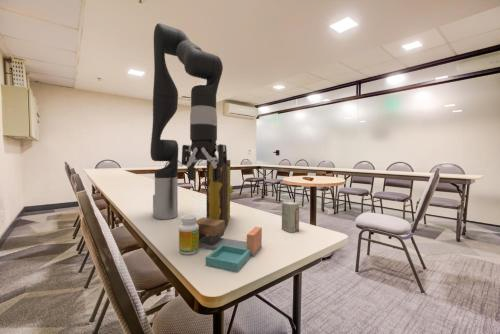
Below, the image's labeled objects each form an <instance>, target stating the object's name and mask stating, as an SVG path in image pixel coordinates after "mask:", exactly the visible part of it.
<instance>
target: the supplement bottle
mask: <svg viewBox="0 0 500 334" xmlns="http://www.w3.org/2000/svg"><path fill="white" fill-rule="evenodd" d="M196 220H197V215H193V214H188V215H187V214H186V215H183V216H181V224H180V225H179V226H178V252H179V253H180V254H181V255H187V256H188V255H193V254H196V253H197V252H199V250H200V247H199V225H198V224H197V223H196Z"/></svg>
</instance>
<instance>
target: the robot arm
mask: <svg viewBox="0 0 500 334" xmlns="http://www.w3.org/2000/svg"><path fill="white" fill-rule="evenodd" d="M165 55H170V56H174V57H176V58H178V59H177V60H178V61H179V62H180V63H182V65H183V66H184V71H185V73H186V74H188V75H189V76H191V77H194V78H197V79H198V78H199V79H202V80H206V84H198V85H194V86H192V88H191V90H190V91H191V92H190V115H189V139H190V141H191V144H183V145H182V147H181V149H182V150H181V165H182V166H186V168H187V178H188V181H194V180H195V179H196V165H197V164H198V163H199V161H209V162H210V163H211V164H212V166H213V167H214V169H213V182H219V180H220V178H221V175H220V174H221V168H222V167H224V166H227V160H228V153H227V152H228V151H227V145H226V144H223V143H222V144H220V143H219V144H217V140H218V115H217V95H218V94H217V93H218V89H219V84H220V80H221V77H222V74H223V68H224V66H223V62H222V60H221V58H220V57H219V56H217V55H216V54H214V53H210V52H206V51H204V50H203V49H202V48H201V47H200V46H198V45H196V44H195V43H193V42H192V41H191V40H190V38H189V37H188V36H187V34H186V33H185V32H184V31H182V30H181V29H179V28H176V27H173V26H169V25H166V24H163V23H156V25H155V27H154V30H153V56H154V57H153V59H154V61H153V63H154V64H153V65H154V67H153V68H154V69H153V70H154V71H153V93H152V128H151V129H152V130H151V137H150V138H151V140H150V150H149V151H150V157H151V160H152V161H153V162H168V164H167V165H165V166H164V167H162V168H159V169H156V170H155V171H154V194H153V195H152V217H153V218H155V219H157V220H170V219H175V218H177V217H178V215H179V214H178V212H179V211H178V209H179V208H178V205H179V203H178V201H179V200H178V199H179V198H178V193H179V192H178V189H179V188H178V187H179V186H178V177H179V176H178V172H179V167H178V165H179V144H178V142H177V140H175V139H161V137H162V133H163V132H164V129H165V128H166V126H167V124H169V122H170V121H171V119H173V117H174V116H175V114H176V113H177V110H178V105H179V104H178V103H179V102H178V101H179V91H178V88H177V86H176V84H175V81H174V80H173V78H172V76H171V74H170V71H169V69H168V66H167V63H166V58H165V57H166V56H165ZM216 152H217V154H216ZM217 155H218V156H217Z"/></svg>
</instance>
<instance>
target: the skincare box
mask: <svg viewBox="0 0 500 334" xmlns="http://www.w3.org/2000/svg"><path fill="white" fill-rule="evenodd" d="M281 229H282V230H283V231H286V232H287V233H296V232H299V231H300V203H299V202H294V201H282V202H281Z"/></svg>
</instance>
